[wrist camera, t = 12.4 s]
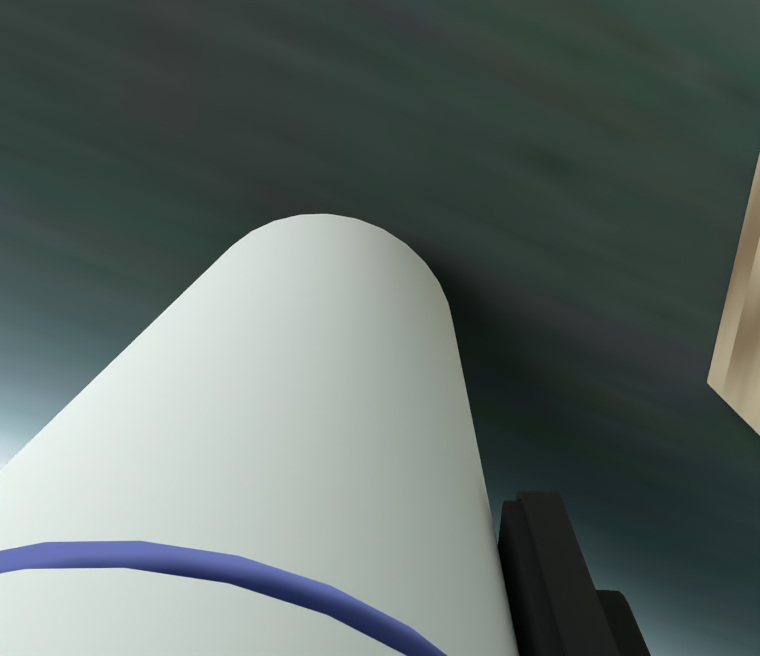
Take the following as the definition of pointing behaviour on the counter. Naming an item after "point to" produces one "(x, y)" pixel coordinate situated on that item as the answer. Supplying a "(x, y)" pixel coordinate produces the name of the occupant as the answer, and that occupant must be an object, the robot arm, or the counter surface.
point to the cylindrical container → (265, 473)
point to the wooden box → (742, 323)
